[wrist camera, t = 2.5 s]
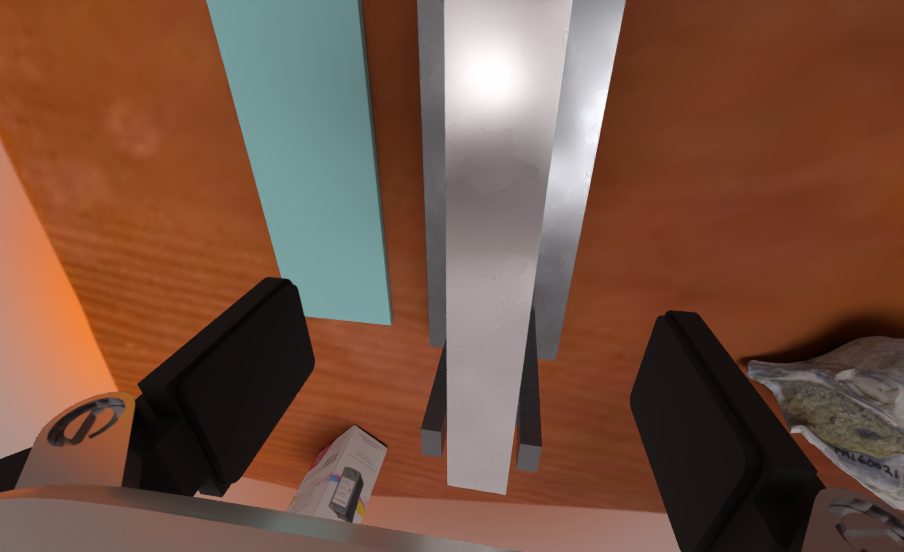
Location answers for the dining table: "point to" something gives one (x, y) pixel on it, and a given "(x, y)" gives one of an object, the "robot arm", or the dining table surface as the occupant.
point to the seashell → (848, 408)
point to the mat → (311, 146)
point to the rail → (494, 214)
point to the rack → (563, 212)
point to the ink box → (341, 478)
